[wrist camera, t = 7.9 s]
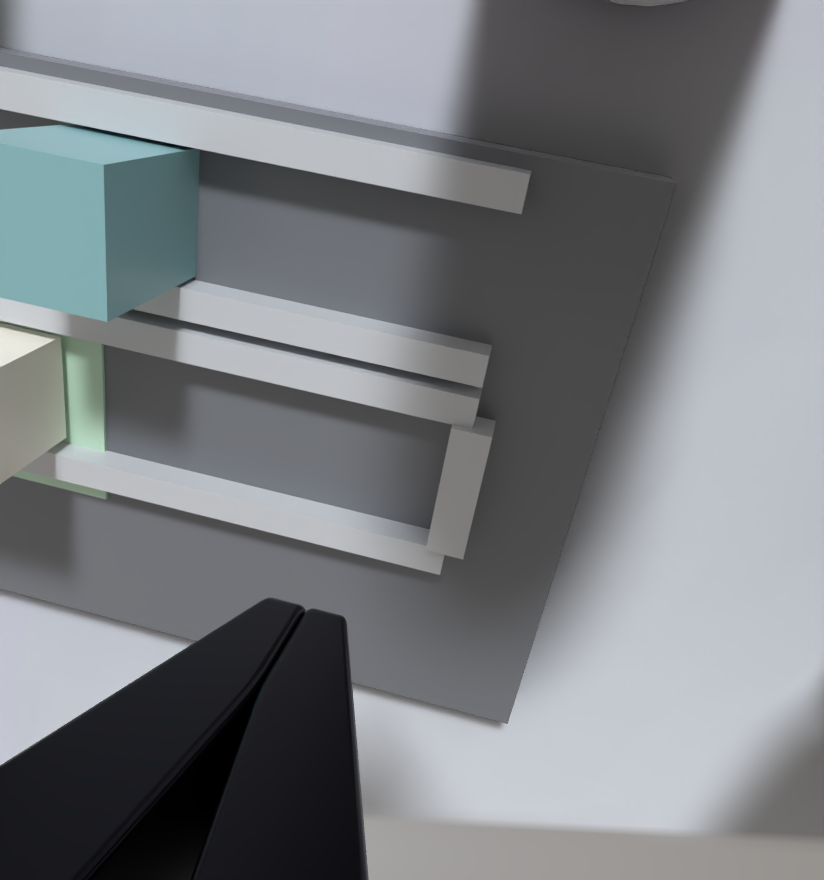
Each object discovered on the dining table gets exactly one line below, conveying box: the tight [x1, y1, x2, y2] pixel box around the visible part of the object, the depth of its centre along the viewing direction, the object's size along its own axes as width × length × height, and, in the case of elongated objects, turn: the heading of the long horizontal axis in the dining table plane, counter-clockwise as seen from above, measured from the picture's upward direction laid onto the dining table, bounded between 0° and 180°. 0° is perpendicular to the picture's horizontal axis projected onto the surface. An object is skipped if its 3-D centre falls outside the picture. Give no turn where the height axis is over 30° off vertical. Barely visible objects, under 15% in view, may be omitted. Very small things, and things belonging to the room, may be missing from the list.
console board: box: [0, 47, 677, 724], centre depth 19 cm, size 20×16×5 cm
